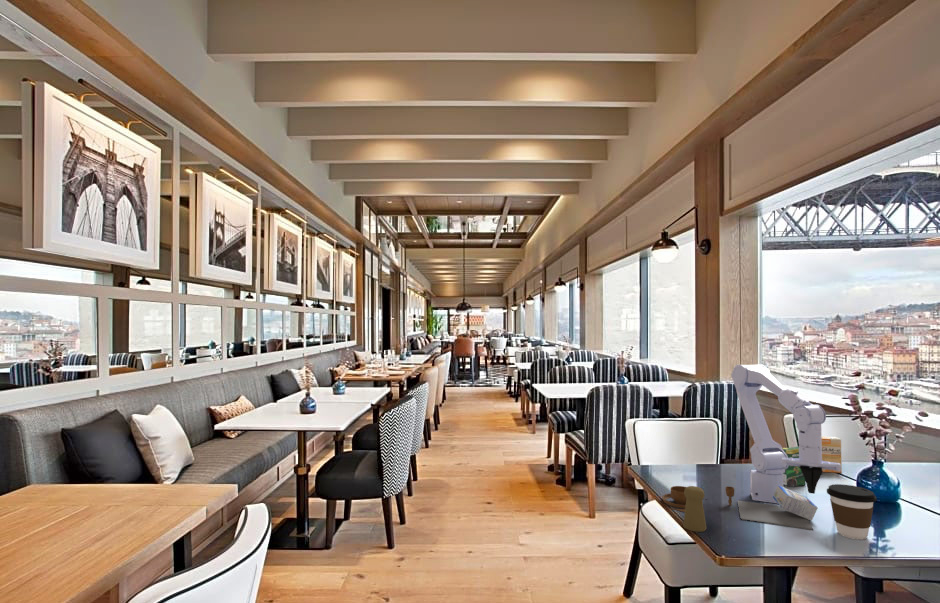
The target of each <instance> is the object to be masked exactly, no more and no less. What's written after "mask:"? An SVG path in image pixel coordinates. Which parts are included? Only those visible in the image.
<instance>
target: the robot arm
mask: <svg viewBox="0 0 940 603" xmlns="http://www.w3.org/2000/svg"><path fill="white" fill-rule="evenodd" d="M732 369H733V370H732V371H731V372H732V373H731V374H730V375H731V379H732V381H733V384H734V387H735V390H736V394H737V398H738V400H739V403H740V405H741V409H742V411H743V415H744V418H745V420H746V422H747V425H748V428H749V430H750V433H751V436H752V439H753V442H754V443H753V445H752V446H751V447H750V448H749V452H750V455H751V458H750V459H751V464H752V467H754V469H750V487H749V492H750V495H751V496H750V497H751V500H752V501H756V502H765V503H772V504H778V503H777V502H776V501H775V499H774V498H773V495H774V492H775V490H776V488H777V486H778V485H779V486H781V487H784V485H783V473H785V469H787V468H788V466H799V468H800V469H801V471H802V474H803V476H804V478H805V482H806V487H807V492H808V493H809V494H813V495H814V494H815V493H816V488H817V485H818V482H819V480H820V478H821V477H822V475H823V473H824V472H823V471H822V469H828V470H836V471H841V465H840V464H839V463H834V462H827V461H822V437H823V436H822V424H824V423H825V422H826V419H827V414H826V411H825V409H824V408H823V407H822V406H821V405H819V404H813V403H811V402H810V400H808V399H806V398H804V397H803V396H802V394H799V391H798V390H796V389H793V388H786V386H784V385H782V383H781V382H780V381H779V380H777V379H776V378H775V376H773V375H772V374H771V371H770V369H769V368H767V367H766V365H764V364H762V363H759V364H736V365H735V366H734V367H733V368H732ZM762 387H765V388H766V389H767V390H769V391H770V392H771V393H773V394H774V395H775V396H777V400H778V402H779V404H781V406H782V407H783V408H785V409H786V410H788V411H789V413H791V414H792V417H793V419H794V421H795V423H796V428H797V432H798V447H799V458H788V456H787V454H786V453H785V452H784V451H783V449H782V448H783V447H782V444H780V443H778V442H776V441H775V440H774V439H773V437H772V434H771V431H770V430H769V427H768V424H767V421H766V418H765V416H764V413H763V411H762V408H761V405H760V403H759V400H758V397H757V395H756V394H757V392H758V391H759V390H760V389H761V388H762Z"/></svg>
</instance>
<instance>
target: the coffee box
mask: <svg viewBox="0 0 940 603" xmlns="http://www.w3.org/2000/svg"><path fill="white" fill-rule="evenodd" d="M782 449H783V451H784V452H785V453H786V454H787V456H788V458H799V446H793V447H792V446H791V447H782ZM784 485H785V486H784ZM783 486H784V487H786V486H787V487H786V488H788V486H791V487H798V486H799V487H800V486H801V487H803V486H807V484H806V481H805V478H804V476H803V474H802V471H801V469H800V468H799V466H788V468H787V469H785V473H783Z"/></svg>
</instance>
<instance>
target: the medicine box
mask: <svg viewBox="0 0 940 603" xmlns="http://www.w3.org/2000/svg"><path fill="white" fill-rule="evenodd" d="M773 498H774V499H775V501H776V502H777V503H776V504H778V506H781V508H782V509H784V510H787V511H789V512H791V513H794V514H796V515H799V516H801V517H804V518H806V519H808V520H809V521H813V519H814V517H815V515H816V513H817V510H818V506H817V505H816V504H815V503H814V502H812V501H811V499H810V498H808V497H807V496H806V495H803V494H801V493H798V492H796V491H794V490H791V489H788V488H787V487H785V486H783V487H781V486H779V485H778V486H777V488H776V490H775V492H774V495H773Z"/></svg>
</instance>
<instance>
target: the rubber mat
mask: <svg viewBox="0 0 940 603" xmlns="http://www.w3.org/2000/svg"><path fill="white" fill-rule="evenodd" d="M737 507H739V508H738V512H739V518H741V519H742V520H741V519H740V520H741V521H747V520H750V521H749V522H753V521H757V522H756V523H760V522H765V523H764V524H767V523H769V525H774V524H776V525H775V526H781V525H782V527H790V528H796V529H804V530H810V531H814V529H813V526H812V524H811V522H810V520H809V519H806V518H804V517H801V516H799V515H796V514H794V513H791V512H789V511H787V510H784V509H782V508H781V506H780V505H775V504H768V503H761V502H753V501H752V502H751V501H745V500H737Z"/></svg>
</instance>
